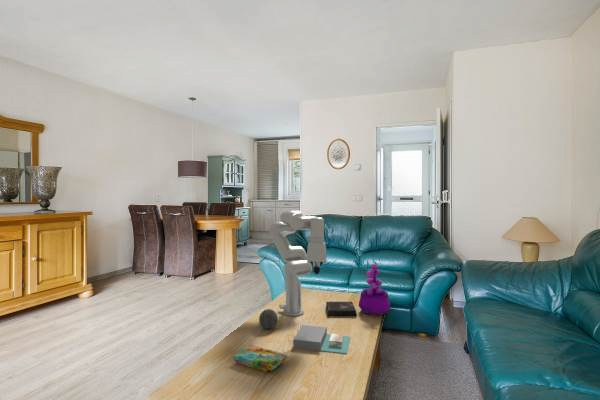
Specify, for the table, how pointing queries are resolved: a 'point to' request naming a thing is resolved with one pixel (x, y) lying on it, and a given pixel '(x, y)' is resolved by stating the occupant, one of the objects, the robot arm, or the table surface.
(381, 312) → the decorative plant
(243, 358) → the puzzle game
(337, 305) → the portable cd player
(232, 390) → the table surface
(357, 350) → the table surface
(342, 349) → the mat
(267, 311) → the decorative ball
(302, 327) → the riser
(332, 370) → the table surface
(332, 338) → the tile
